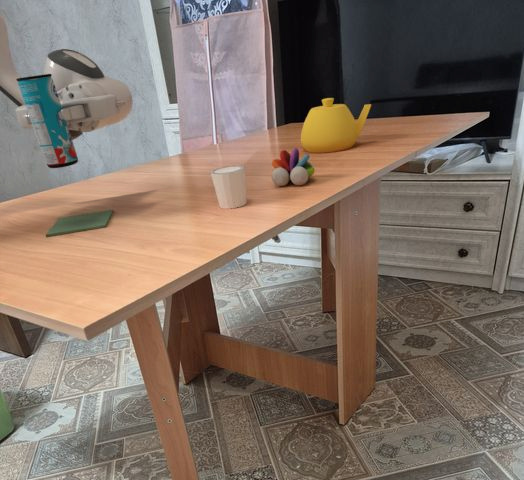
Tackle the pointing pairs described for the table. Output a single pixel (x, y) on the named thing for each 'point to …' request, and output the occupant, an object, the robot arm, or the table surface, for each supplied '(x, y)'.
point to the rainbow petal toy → (291, 168)
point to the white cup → (230, 186)
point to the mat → (80, 223)
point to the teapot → (331, 127)
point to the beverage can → (48, 120)
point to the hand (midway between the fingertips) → (44, 117)
